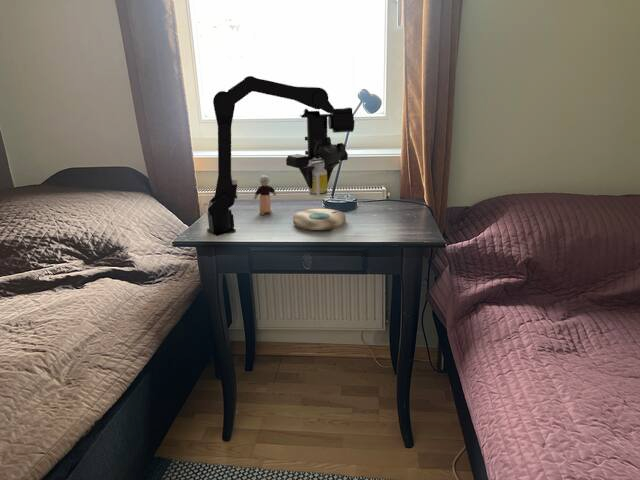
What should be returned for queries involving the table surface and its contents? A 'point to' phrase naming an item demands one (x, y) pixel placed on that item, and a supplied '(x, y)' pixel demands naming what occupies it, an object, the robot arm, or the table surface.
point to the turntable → (319, 219)
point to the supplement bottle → (319, 179)
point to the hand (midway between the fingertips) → (318, 186)
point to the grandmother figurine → (264, 195)
